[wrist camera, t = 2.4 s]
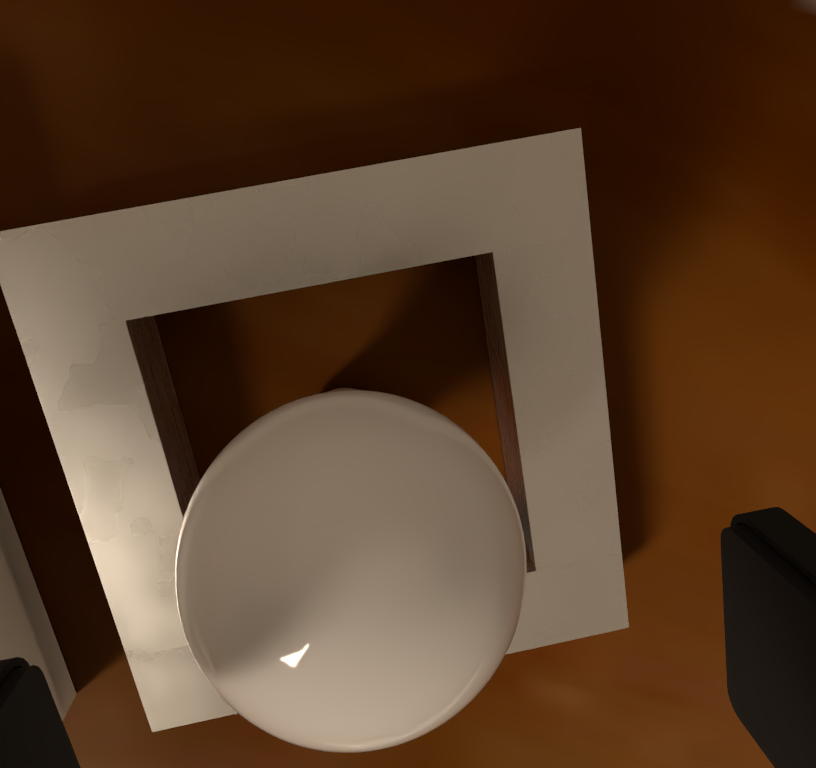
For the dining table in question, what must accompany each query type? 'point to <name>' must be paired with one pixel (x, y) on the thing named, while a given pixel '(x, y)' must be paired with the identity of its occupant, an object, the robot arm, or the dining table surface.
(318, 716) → the lightbulb
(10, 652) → the bin
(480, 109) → the dining table surface
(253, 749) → the dining table surface
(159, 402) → the socket collar
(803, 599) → the robot arm
